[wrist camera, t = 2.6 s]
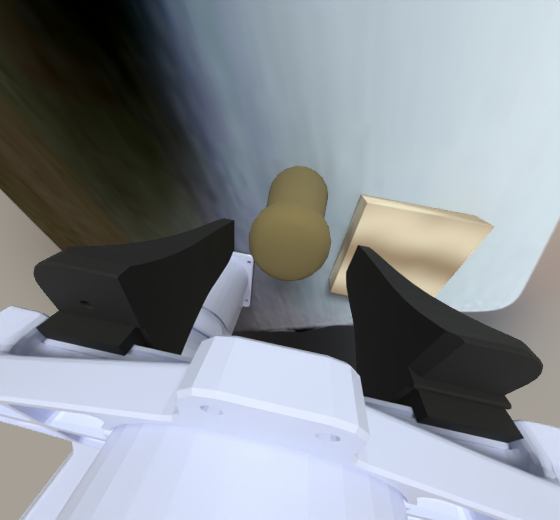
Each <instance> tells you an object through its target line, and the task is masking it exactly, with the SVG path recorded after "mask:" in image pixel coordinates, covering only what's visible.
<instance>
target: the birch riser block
mask: <svg viewBox="0 0 560 520" xmlns="http://www.w3.org/2000/svg"><path fill="white" fill-rule="evenodd" d="M493 228H494V226H492V225H491V224H489V223H487V222H485V221H484V220H482V219H480V218H478V217H476V216H474V215H469V214H463V213H458V212H452V211H447V210H442V209H436V208H431V207H426V206H420V205H415V204H409V203H404V202H399V201H393V200H388V199H383V198H377V197H372V196H367V195H361V197H360V199H359V202H358V205H357V207H356V210H355V212H354V215H353V218H352V220H351V223H350V226H349V228H348V231H347V233H346V236H345V239H344V241H343V244H342V246H341V249H340V252H339V254H338V257H337V259H336V262H335V265H334V267H333V270H332V272H331V275H330V278H329V283H330V292H332V293H337V294H342V295H347V296H348V293H347V288H346V271H347V269H348V266H349V264H350V262H351V260H352V257H353V255H354V253H355V251H356V248H357V246H358V245H361V246H366V247H370V248H371V249H372V250H374V251H375V252H376V253H377V254H378V255H380V256H381V257H382V258H383V259H384V260H385V261H386V262H387V263H389V264H390V265H391V266H392V267H393V268H394V269H396V270H397V271H398V272H399V273H400V274H402V275H403V276H404V277H405V278H407V279H408V280H409V281H411V282H412V283H413V284H415V285H416V286H418V287H419V288H420V289H422V290H423V291H425V292H426V293H428V294H429V295H431V296H433V297H435V296H436V294H437V293H438V292H439V291H440V290H441V289H442V287H443V286H444V285H445V284H446V283H447V282H448V280H449V279H450V278H451V277H452V276H453V275H454V273H455V272H456V271H457V270H458V269H459V268H460V267H461V265H462V264H463V263H464V262H465V261H466V260H467V258H468V257H469V256H470V255H471V254H472V253H473V251H474V250H475V249H476V248H477V247H478V246H479V244H480V243H481V242H482V241H483V240H484V239H485V237H486V236H487V235H488V234H489V233H490V232H491V230H492V229H493Z"/></svg>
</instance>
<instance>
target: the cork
mask: <svg viewBox="0 0 560 520" xmlns="http://www.w3.org/2000/svg"><path fill="white" fill-rule="evenodd" d="M327 199H328V192H327V186H326V184H325V182H324V180H323V178H322V177H321V176H320V175H319V174H318V173H317V172H316V171H314V170H312V169H309V168H307V167H300V166H295V167H291V168H288V169H285V170H284V171H283V172H281V173H280V174H278V175H277V177H276V178H275V179H274V181H273V182H272V185H271V188H270V191H269V197H268V202H267V208H265V209H264V210H262V211H261V213H260V214H259V215H258V216H257V218H256V219H255V220H254V222H253V223H252V227H251V230H250V233H249V250H250V252H251V255H252V257H253V259H254V261H255V263H256V264H257V265H258V266H259V267H260V269H261V270H262V271H264V272H265V273H267V274H268V275H269V276H271V277H274V278H277V279H279V280H286V281H294V280H301V279H304V278H306V277H309V276H311V275H312V274H314V273H315V272H316V271H317V270H319V269H320V268H321V267H322V265H323V264H324V262H325V261H326V259H327V257H328V254H329V250H330V246H331V238H330V232H329V227H328V225H327V223H326V221H325V220H324V214H325V210H326V205H327Z"/></svg>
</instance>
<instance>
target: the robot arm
mask: <svg viewBox="0 0 560 520" xmlns="http://www.w3.org/2000/svg"><path fill="white" fill-rule="evenodd" d="M248 261H250V262H251V263H249V262H248ZM253 264H254V259H253V257H252V255H249V254H243V253H238V252H234V220H230V219H225V218H224V219H220V220H217V221H214V222H212V223H209V224H207V225H204V226H201V227H199V228H196V229H193V230H190V231H187V232H184V233H181V234H177V235H174V236H170V237H165V238H161V239H156V240H150V241H144V242H138V243H130V244H120V245H107V246H83V247H69V248H67V249H65V250H63V251H61V252H59V253H57V254H55V255H53V256H51V257H49V258H47V259H46V260H43V261H41V262H39V263H38V264H37V265H36V266H35V268H34V277H35V280H36V282H37V283H38V285H39V286H40V288H41V289H42V290H43V291H44V293H45V294H46V295H47V296H48V297H49V299H50V300H51V301H52V302H53V303H54V305H55V306H56V307H57V309H58V310H59V311H58V312H56V313H55V314H54V315H52V316H51V317H49V316H48V315H46V314H44V313H41V312H38V311H34V310H29V309H25V308H20V307H16V306H10V307H8V308H6V309H5V310H3V311H2V312H0V421H1V422H5V423H9V424H12V425H16V426H20V427H23V428H27V429H31V430H34V431H37V432H41V433H45V434H48V435H52V436H55V437H58V438H62V439H66V440H69V441H72V445H73V450H72V451H71V453H70V454H69V455H68V456H67V458H66V459H65V461H64V462H63V463H62V464H61V466H60V467H59V468H58V469H57V471H56V472H55V473H54V475H53V476H52V477H51V479H50V480H49V481H48V483H47V484H46V485H45V486H44V488H43V489H42V490H41V492H40V493H39V494H38V495H37V497H36V498H35V499H34V501H33V502H32V503H31V505H30V506H29V507H28V508H27V510H26V511H25V512H24V514H23V515H22V516H21V517H20V519H19V520H560V428H558V427H555V426H550V425H546V424H541V423H537V422H532V421H528V420H512V419H511V417H510V416H509V414H508V413H507V411H506V410H505V409H511V404H510V403H509V401H508V400H507V398H506V397H505V395H506V394H508V393H510V392H512V391H514V390H516V389H519V388H521V387H523V386H525V385H527V384H529V383H530V382H532V381H534V380H535V379H537V378H538V376H539V375H540V374H541V372H542V369H543V364H542V362H541V361H540V359H539V358H538V357H537V356H536V355H535V354H534V353H533V352H532V351H531V350H530V349H529V347H528V346H526V344H524V343H523V342H522V341H520V340H518V339H516V338H514V337H511V336H509V335H507V334H505V333H503V332H500V331H498V330H496V329H493V328H491V327H489V326H487V325H484V324H482V323H480V322H478V321H476V320H474V319H472V318H470V317H468V316H466V315H464V314H462V313H461V312H459V311H457V310H455V309H453V308H451V307H449V306H448V305H446V304H444V303H443V302H441V301H439V300H437V299H436V298H434V297H433V296H431V295H429V294H428V293H426V292H425V291H423V290H422V289H420V288H419V287H418V286H416V285H415V284H413V283H412V282H411V281H409V280H408V279H407V278H405V277H404V276H403V275H402V274H400V273H399V272H398V271H397V270H396V269H394V268H393V267H392V266H391V265H390V264H389V263H387V262H386V261H385V260H384V259H383V258H382V257H381V256H380V255H378V254H377V253H376V252H375V251H374V250H372V249H371V248H370V247H366V246H361V245H358V246H357V248H356V251H355V253H354V255H353V257H352V260H351V262H350V264H349V266H348V269H347V271H346V288H347V293H348V298H349V303H350V308H351V313H352V318H353V323H354V331H355V344H356V361H357V362H356V363H357V373H356V372H355V370H354V369H353V368H352V367H351V366H350V365H348V364H347V363H345V362H343V361H340V360H338V359H335V358H333V357H330V356H326V355H322V354H317V353H313V352H308V351H304V350H299V349H294V348H290V347H285V346H280V345H276V344H272V343H266V342H262V341H258V340H253V339H249V338H244V337H240V336H231V335H232V333H233V330H234V327H235V325H236V322H237V319H238V317H239V314H240V312H241V309H242V306H244V307H249V306H250V300H251V288H252V276H253ZM247 299H248V300H247Z"/></svg>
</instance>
